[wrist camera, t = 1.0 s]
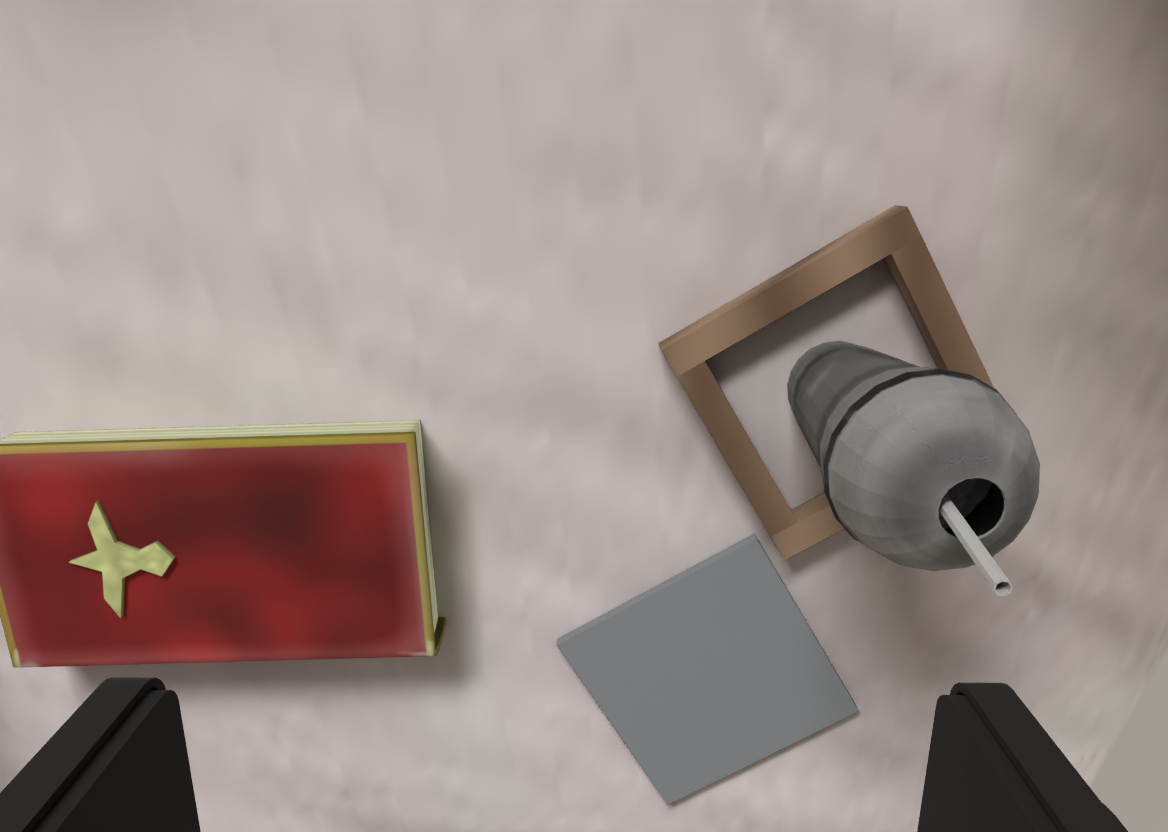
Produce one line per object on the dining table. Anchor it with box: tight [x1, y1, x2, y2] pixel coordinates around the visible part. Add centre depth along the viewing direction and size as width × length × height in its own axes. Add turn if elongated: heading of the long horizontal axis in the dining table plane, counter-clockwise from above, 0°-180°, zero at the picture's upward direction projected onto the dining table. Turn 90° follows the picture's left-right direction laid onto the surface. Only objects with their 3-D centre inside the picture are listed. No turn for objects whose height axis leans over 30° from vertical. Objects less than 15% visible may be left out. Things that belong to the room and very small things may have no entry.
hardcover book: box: [0, 420, 446, 668], centre depth 42 cm, size 12×21×4 cm, turn 92°
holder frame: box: [659, 205, 994, 560], centre depth 41 cm, size 13×13×2 cm
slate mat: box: [557, 534, 858, 805], centre depth 46 cm, size 12×12×1 cm
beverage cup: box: [787, 341, 1040, 596], centre depth 32 cm, size 7×7×20 cm
